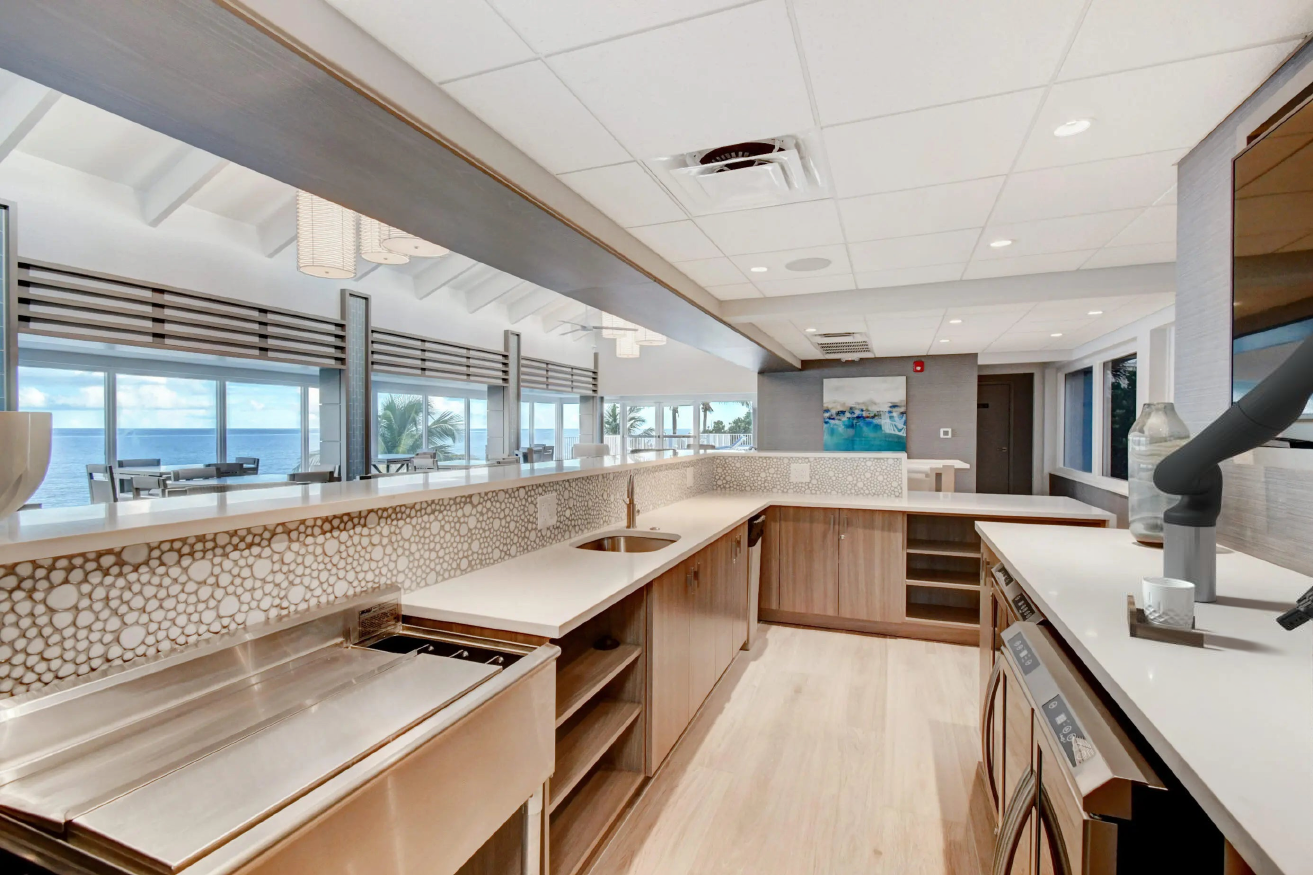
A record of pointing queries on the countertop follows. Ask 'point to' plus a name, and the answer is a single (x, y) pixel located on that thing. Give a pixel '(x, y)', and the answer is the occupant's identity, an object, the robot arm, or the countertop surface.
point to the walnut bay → (1159, 629)
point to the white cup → (1168, 602)
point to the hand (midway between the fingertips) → (1281, 625)
